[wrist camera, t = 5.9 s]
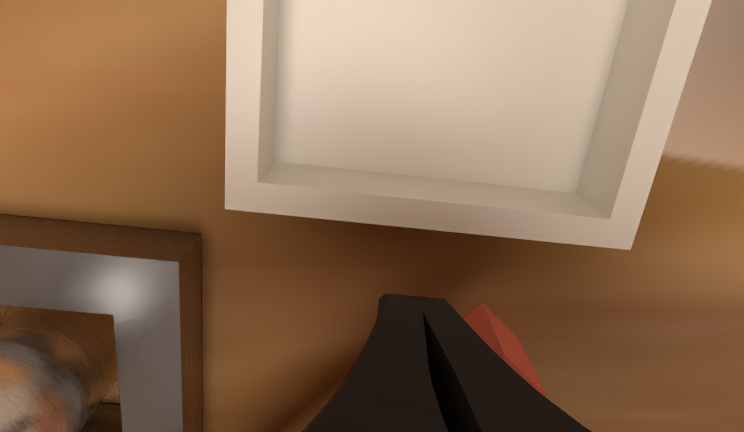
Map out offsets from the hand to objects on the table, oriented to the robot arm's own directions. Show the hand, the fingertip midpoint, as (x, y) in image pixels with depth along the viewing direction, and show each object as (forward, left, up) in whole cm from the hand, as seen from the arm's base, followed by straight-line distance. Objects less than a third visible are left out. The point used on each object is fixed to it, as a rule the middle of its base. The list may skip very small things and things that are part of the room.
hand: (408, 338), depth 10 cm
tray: (0, -6, -4) cm, 8 cm away
